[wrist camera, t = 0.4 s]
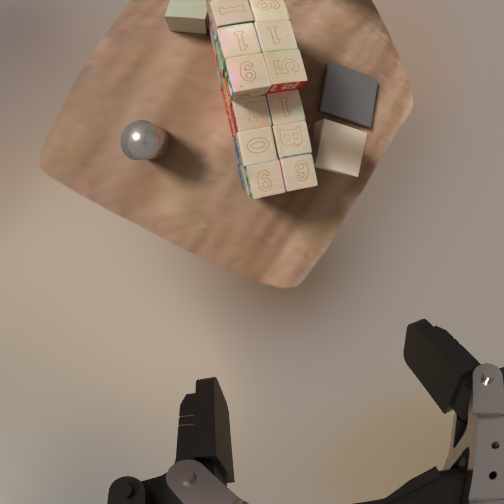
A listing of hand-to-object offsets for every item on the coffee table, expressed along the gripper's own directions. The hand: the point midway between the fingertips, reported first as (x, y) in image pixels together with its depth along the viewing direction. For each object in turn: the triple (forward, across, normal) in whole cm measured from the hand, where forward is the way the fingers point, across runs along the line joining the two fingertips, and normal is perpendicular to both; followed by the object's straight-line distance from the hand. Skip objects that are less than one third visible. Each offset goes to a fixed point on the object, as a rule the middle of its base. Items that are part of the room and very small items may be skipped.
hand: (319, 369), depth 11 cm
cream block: (+26, -10, -7) cm, 29 cm away
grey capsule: (+26, +9, -11) cm, 30 cm away
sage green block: (+27, +2, -27) cm, 38 cm away
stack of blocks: (+27, -3, -14) cm, 30 cm away
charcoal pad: (+26, -15, -13) cm, 33 cm away
